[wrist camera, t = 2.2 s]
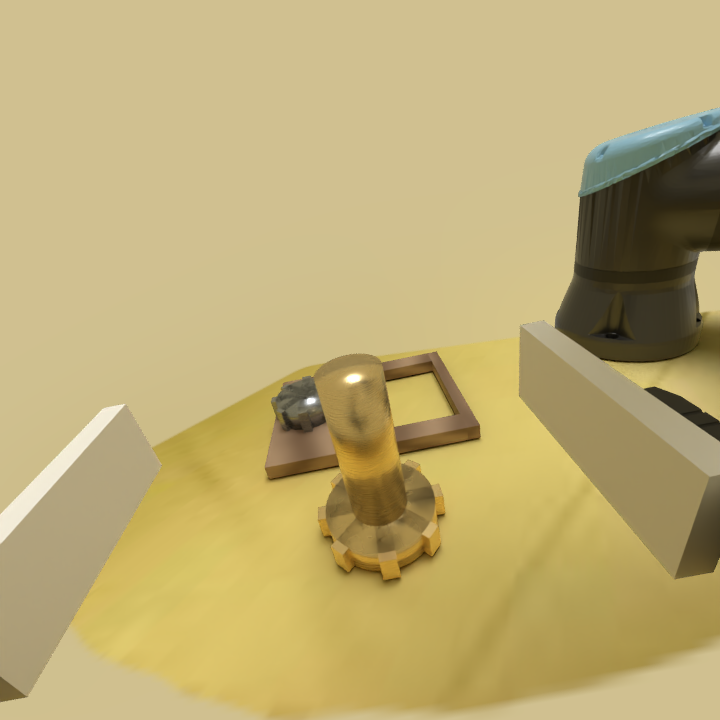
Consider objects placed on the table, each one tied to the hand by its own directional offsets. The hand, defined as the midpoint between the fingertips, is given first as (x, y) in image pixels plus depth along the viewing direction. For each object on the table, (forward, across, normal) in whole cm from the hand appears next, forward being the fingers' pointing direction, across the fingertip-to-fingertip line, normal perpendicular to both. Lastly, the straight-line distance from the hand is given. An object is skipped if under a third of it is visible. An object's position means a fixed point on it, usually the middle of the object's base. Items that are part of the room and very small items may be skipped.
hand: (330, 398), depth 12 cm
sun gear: (+25, -6, -17) cm, 31 cm away
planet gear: (+10, 0, -18) cm, 21 cm away
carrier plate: (+25, 0, -18) cm, 31 cm away
